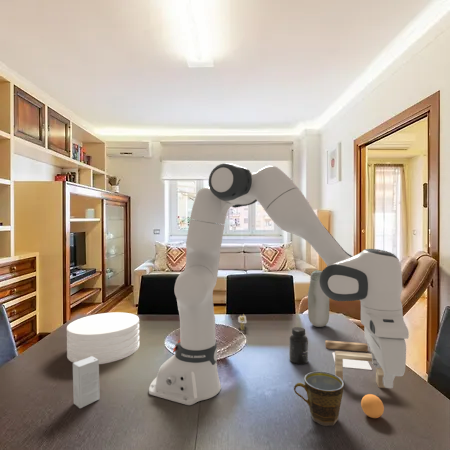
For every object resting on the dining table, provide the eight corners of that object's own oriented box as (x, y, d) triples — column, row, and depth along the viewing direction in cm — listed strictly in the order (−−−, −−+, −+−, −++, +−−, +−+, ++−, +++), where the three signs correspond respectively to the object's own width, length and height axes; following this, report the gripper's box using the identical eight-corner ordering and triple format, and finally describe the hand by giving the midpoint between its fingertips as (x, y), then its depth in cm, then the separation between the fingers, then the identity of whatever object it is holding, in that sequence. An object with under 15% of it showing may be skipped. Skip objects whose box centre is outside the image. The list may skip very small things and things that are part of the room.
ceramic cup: (335, 405, 85) (334, 370, 85) (351, 430, 75) (350, 390, 75) (289, 407, 84) (289, 371, 84) (299, 431, 74) (299, 391, 74)
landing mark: (335, 366, 108) (335, 366, 108) (332, 352, 120) (332, 352, 120) (372, 370, 105) (372, 369, 105) (364, 355, 117) (364, 354, 117)
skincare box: (92, 394, 92) (92, 355, 92) (100, 399, 89) (99, 359, 89) (72, 403, 87) (72, 362, 87) (79, 409, 84) (78, 367, 84)
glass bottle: (310, 321, 157) (309, 268, 157) (330, 324, 153) (330, 269, 152) (306, 327, 148) (305, 271, 148) (328, 330, 144) (327, 272, 144)
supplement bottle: (308, 365, 109) (308, 332, 109) (289, 364, 110) (289, 331, 110) (307, 357, 116) (307, 326, 115) (289, 356, 117) (289, 325, 117)
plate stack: (52, 366, 111) (52, 335, 111) (85, 337, 139) (85, 312, 139) (128, 364, 112) (128, 333, 112) (146, 336, 140) (145, 311, 140)
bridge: (385, 388, 94) (385, 358, 94) (336, 382, 97) (336, 354, 97) (382, 383, 96) (382, 354, 96) (335, 378, 100) (334, 350, 100)
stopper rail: (325, 348, 124) (325, 342, 124) (325, 346, 126) (325, 340, 126) (367, 351, 120) (367, 345, 120) (366, 349, 122) (366, 343, 122)
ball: (363, 421, 78) (363, 400, 78) (359, 408, 83) (359, 388, 83) (386, 424, 77) (386, 403, 77) (380, 411, 82) (380, 391, 82)
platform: (230, 335, 140) (230, 321, 140) (230, 322, 158) (230, 310, 158) (255, 335, 140) (255, 321, 140) (253, 322, 158) (252, 310, 158)
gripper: (357, 305, 82) (358, 355, 82) (377, 332, 62) (378, 398, 62) (383, 306, 80) (383, 357, 81) (412, 334, 61) (412, 402, 61)
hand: (381, 375), depth 71 cm, fingers open, 8 cm apart
